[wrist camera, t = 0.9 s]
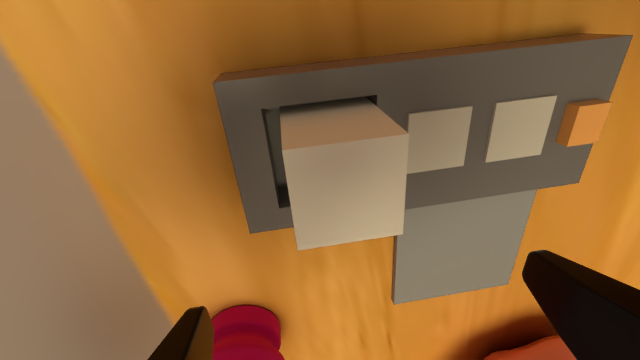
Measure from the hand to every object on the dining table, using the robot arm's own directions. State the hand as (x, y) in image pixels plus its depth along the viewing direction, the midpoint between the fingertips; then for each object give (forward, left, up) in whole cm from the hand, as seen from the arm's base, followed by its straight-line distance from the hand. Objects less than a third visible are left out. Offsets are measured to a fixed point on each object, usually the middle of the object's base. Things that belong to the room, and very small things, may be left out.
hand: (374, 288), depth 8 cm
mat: (-11, +11, -12) cm, 20 cm away
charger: (0, 0, -12) cm, 12 cm away
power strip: (-6, 0, -13) cm, 14 cm away
